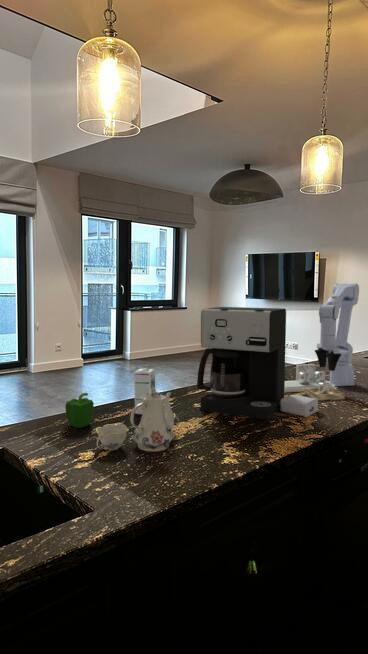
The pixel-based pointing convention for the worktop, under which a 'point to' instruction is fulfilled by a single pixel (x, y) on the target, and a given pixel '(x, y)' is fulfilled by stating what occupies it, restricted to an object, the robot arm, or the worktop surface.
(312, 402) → the charger
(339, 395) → the tray
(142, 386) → the syrup box
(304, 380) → the spacer
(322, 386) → the cylinder
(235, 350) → the coffee maker
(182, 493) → the worktop surface
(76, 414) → the bell pepper
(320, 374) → the cylinder
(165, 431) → the chinaware
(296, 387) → the scale
